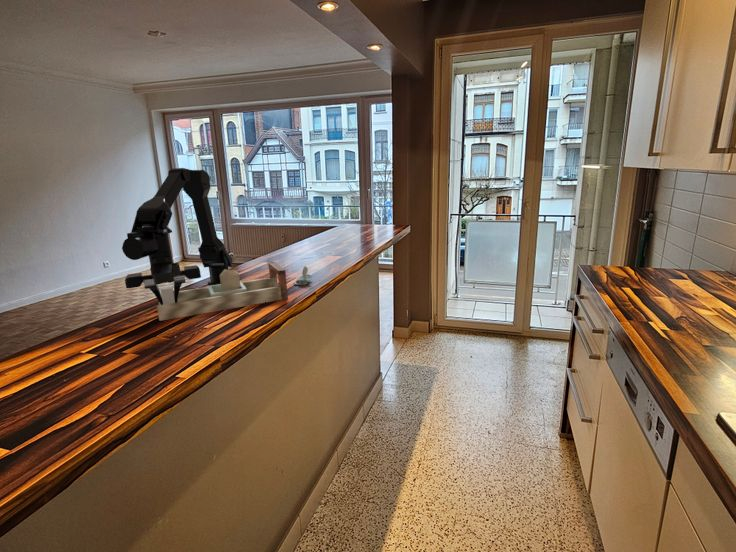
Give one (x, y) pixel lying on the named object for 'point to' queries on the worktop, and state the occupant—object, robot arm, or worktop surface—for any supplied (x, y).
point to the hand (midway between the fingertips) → (169, 305)
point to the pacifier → (303, 277)
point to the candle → (229, 280)
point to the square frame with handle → (212, 291)
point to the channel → (227, 296)
